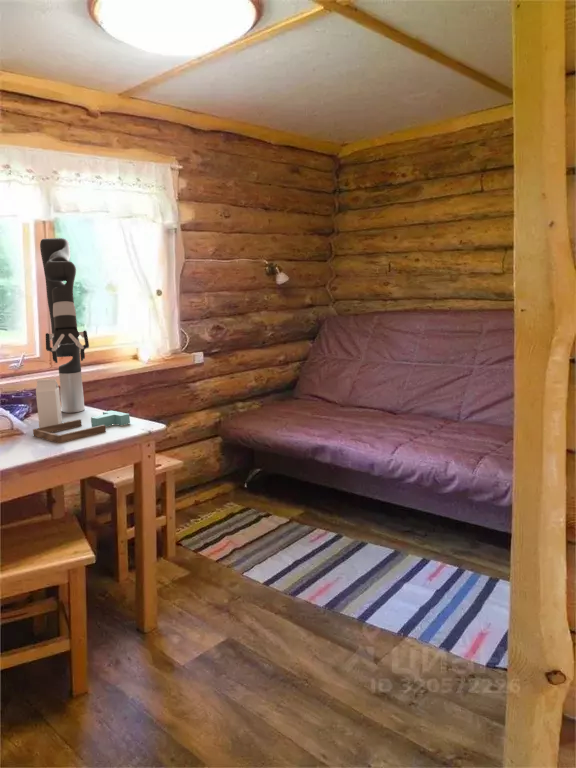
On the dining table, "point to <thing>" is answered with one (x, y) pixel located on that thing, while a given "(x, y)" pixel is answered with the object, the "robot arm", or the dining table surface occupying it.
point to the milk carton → (48, 402)
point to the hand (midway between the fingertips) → (69, 361)
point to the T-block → (110, 418)
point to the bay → (49, 435)
